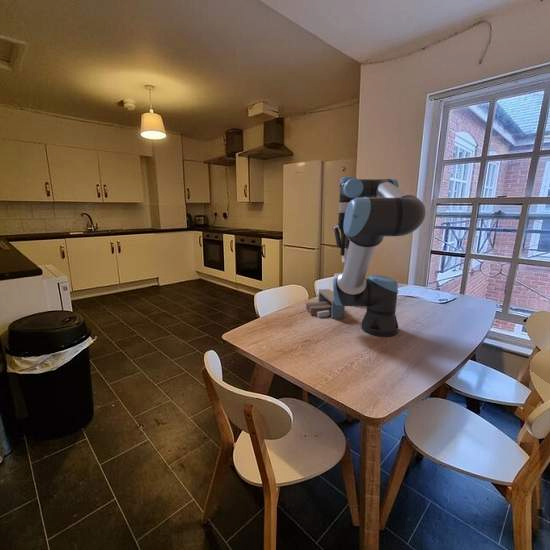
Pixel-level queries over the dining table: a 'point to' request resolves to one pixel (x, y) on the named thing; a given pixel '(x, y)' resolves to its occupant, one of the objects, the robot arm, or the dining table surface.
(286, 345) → the dining table surface
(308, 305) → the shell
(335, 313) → the bridge shelf
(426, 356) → the dining table surface
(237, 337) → the dining table surface
